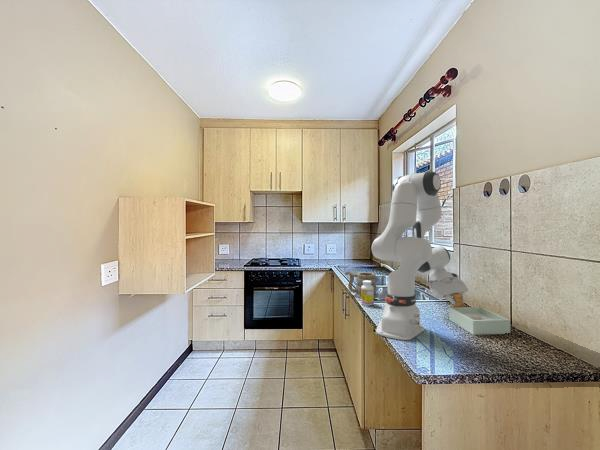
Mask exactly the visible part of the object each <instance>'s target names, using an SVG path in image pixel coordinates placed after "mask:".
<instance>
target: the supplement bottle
mask: <svg viewBox="0 0 600 450" xmlns="http://www.w3.org/2000/svg"><path fill="white" fill-rule="evenodd" d="M374 300H375V299H374V295H373V286H372V285H371V281H369V280H365V281H363V286H362V287H361V299H360V302H361V305H363V306H367V307H369V306H370V305H371V306H373V305H374V302H375V301H374Z"/></svg>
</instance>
